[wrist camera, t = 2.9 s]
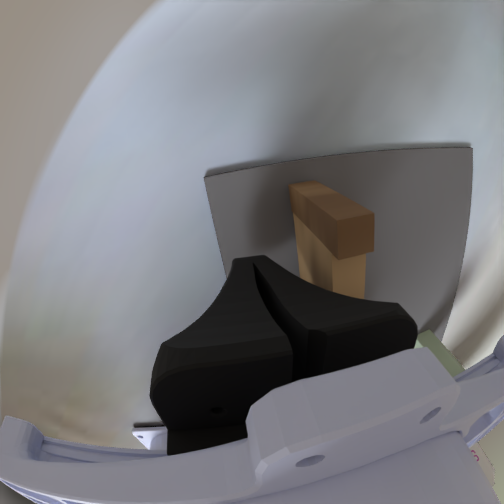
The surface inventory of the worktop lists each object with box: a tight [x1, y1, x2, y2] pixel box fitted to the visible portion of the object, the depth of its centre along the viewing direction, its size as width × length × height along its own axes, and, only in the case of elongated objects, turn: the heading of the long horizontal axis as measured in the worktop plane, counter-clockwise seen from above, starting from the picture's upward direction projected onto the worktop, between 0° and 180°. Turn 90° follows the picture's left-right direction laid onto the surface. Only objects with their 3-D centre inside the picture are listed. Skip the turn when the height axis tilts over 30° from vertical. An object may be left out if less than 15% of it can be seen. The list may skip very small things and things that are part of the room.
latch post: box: [414, 329, 465, 377], centre depth 16 cm, size 2×2×6 cm
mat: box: [204, 147, 473, 341], centre depth 15 cm, size 16×16×1 cm
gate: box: [288, 180, 375, 299], centre depth 12 cm, size 10×1×5 cm, turn 10°
